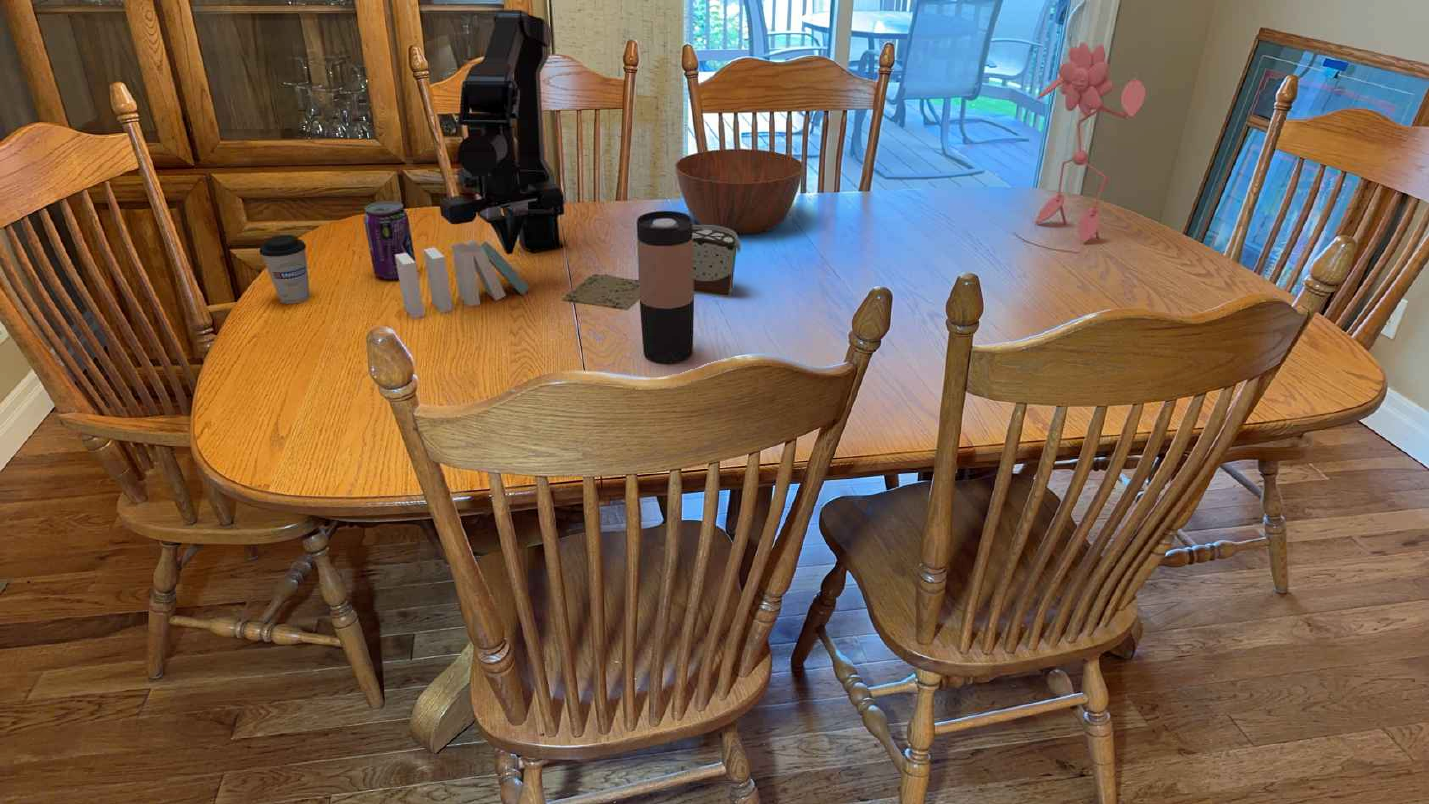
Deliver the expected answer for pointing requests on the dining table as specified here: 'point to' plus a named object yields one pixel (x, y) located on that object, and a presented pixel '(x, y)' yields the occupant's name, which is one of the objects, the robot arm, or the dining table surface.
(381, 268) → the beverage can
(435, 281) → the domino
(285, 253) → the coffee cup
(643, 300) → the travel mug
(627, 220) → the dining table surface
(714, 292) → the food container
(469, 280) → the domino
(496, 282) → the domino
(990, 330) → the dining table surface
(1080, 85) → the figurine
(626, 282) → the speckled square tile
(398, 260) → the domino
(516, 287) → the domino
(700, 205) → the bowl
